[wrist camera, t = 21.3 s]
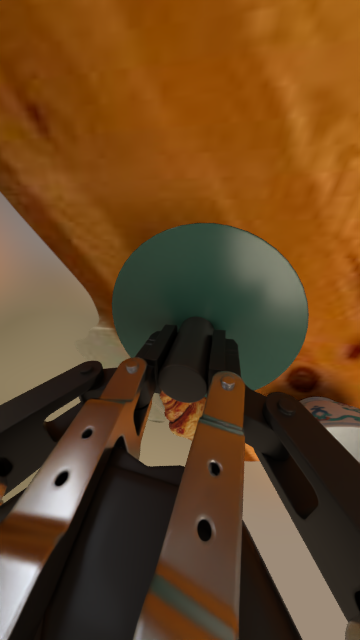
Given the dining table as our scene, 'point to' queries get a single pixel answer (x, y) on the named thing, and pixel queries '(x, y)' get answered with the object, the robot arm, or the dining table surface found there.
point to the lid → (211, 304)
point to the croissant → (182, 415)
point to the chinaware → (337, 421)
